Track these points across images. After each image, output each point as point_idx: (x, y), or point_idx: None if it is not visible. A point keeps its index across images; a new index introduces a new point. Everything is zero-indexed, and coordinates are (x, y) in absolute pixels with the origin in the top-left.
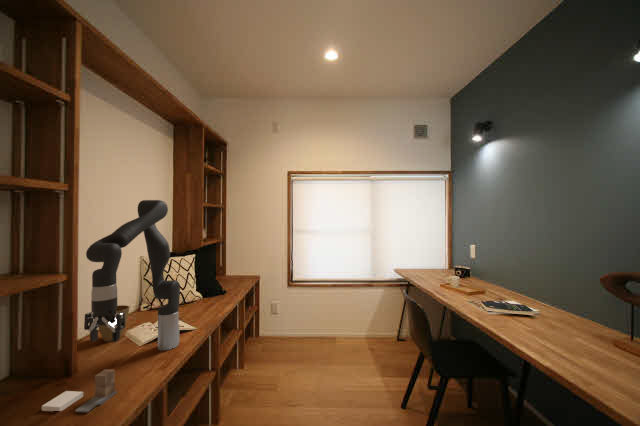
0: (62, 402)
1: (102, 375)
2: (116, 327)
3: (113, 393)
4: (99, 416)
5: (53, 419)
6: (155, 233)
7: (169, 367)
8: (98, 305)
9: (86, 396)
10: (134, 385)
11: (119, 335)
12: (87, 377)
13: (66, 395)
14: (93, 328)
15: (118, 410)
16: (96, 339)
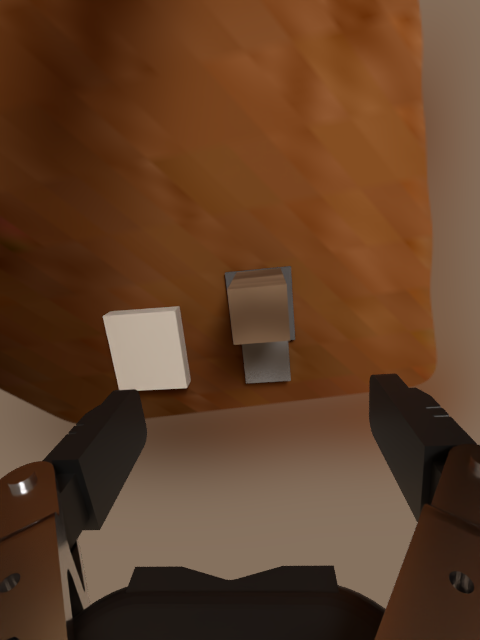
0: (167, 369)
1: (270, 338)
2: (449, 498)
3: (288, 280)
4: (342, 379)
5: (208, 407)
6: None
7: (395, 14)
8: None
9: (192, 305)
10: (324, 209)
11: (445, 416)
12: (53, 196)
13: (136, 337)
14: (85, 581)
15: (384, 348)
16: (136, 403)
